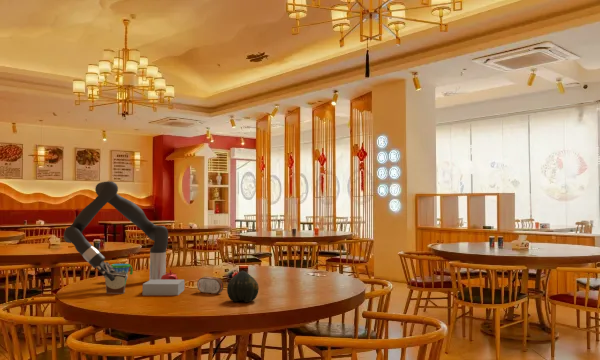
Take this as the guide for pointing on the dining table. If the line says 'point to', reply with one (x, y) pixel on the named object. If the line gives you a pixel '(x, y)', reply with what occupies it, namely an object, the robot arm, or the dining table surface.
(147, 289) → the slate block
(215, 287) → the tin
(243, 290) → the squash
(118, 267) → the snack cup
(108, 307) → the dining table surface
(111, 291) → the food container
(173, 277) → the pomegranate
